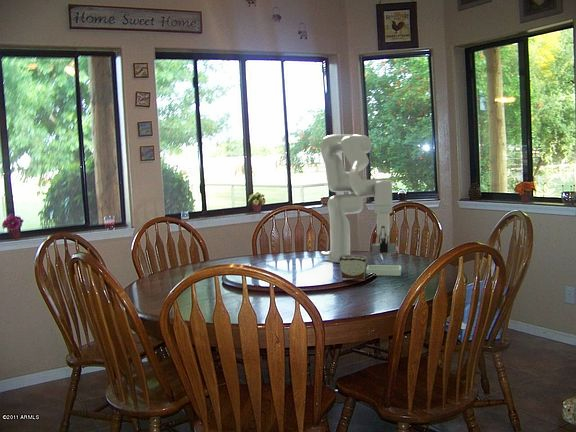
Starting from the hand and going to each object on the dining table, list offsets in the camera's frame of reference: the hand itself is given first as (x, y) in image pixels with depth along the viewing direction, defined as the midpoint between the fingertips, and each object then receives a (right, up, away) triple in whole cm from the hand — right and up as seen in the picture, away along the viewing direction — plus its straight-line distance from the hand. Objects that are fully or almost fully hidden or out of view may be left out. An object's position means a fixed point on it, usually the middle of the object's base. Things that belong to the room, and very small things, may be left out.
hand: (384, 251), depth 278 cm
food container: (-14, -11, -9) cm, 20 cm away
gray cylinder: (0, -1, 0) cm, 1 cm away
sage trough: (0, -10, +1) cm, 10 cm away
